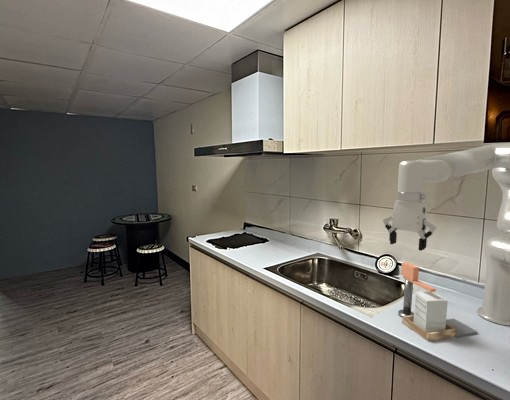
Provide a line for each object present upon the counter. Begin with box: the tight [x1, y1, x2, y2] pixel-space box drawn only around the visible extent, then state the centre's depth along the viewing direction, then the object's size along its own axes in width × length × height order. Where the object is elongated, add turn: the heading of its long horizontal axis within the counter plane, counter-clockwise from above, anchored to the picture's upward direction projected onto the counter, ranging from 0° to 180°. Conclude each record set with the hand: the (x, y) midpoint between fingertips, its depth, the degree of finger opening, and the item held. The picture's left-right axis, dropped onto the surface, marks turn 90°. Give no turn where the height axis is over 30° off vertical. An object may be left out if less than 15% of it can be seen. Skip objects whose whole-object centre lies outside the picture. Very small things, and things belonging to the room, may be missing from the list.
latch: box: [400, 261, 437, 293], centre depth 107 cm, size 2×14×6 cm, turn 14°
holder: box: [401, 315, 456, 342], centre depth 103 cm, size 12×12×2 cm
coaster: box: [446, 318, 478, 338], centre depth 104 cm, size 9×9×1 cm
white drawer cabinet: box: [413, 291, 449, 333], centre depth 103 cm, size 7×7×13 cm
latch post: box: [397, 279, 414, 318], centre depth 112 cm, size 6×6×14 cm
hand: (406, 246), depth 99 cm, fingers open, 9 cm apart
